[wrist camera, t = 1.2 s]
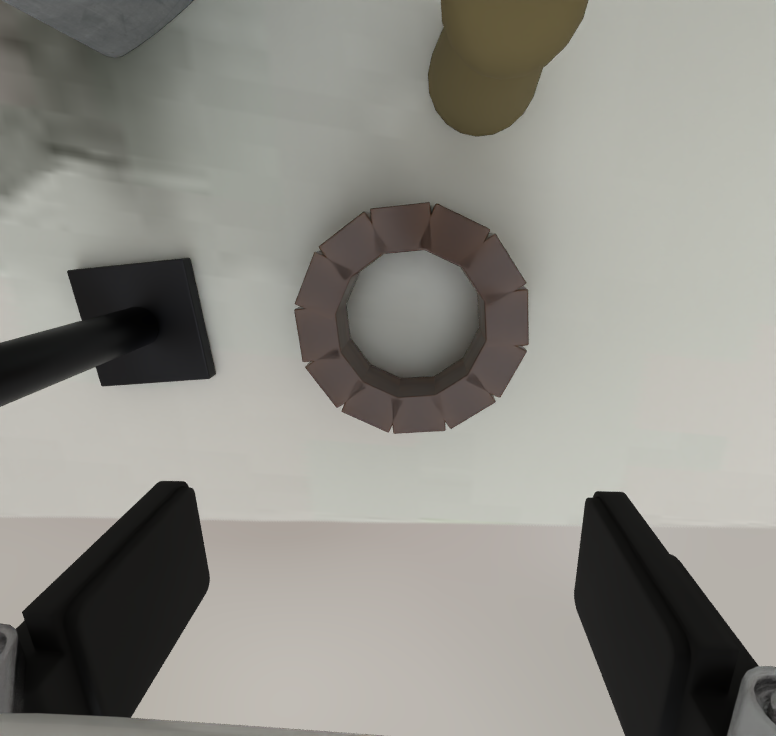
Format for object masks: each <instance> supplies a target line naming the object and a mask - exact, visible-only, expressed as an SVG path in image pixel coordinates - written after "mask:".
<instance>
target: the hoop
mask: <svg viewBox="0 0 776 736" xmlns="http://www.w3.org/2000/svg"><path fill="white" fill-rule="evenodd" d="M489 231H490V229H489V228H487V227H485V226H483V225H481V224H479V223H476V222H474V221H472V220H470V219H468V218H466V217H464V216H462V215H460V214H458V213H456V212H454V211H451V210H449V209H447V208H445V207H443V206H441V205H439V204H435V207H434V209H433V211H432V213H431V210H430V203H429V202H426V203H417V204H408V205H399V206H390V207H381V208H372V209H370V213H368V212H362V213H361V214H360V215H359V216H357V217H356V218H355V219H353V220H352V221H351V222H350V223H348V224H347V225H346V226H344V227H343V228H342V229H341V230H339V231H338V232H337V233H335V234H334V235H333V236H332V237H330V238H329V239H328V240H326V241H325V242H324V243H323V244H321V245H320V246H319V249H320V250H321V251H317V252H314V255H313V257H312V260H311V263H310V265H309V268H308V270H307V273H306V276H305V278H304V281H303V283H302V286H301V289H300V291H299V294H298V296H297V299H296V302H295V304H296V305H298V306H300V307H298V308H296V309H295V310H294V311H295V317H296V323H297V330H298V336H299V342H300V348H301V354H302V361H303V362H309V363H308V364H307V366H306V367H305V368H306V369H307V370H308V372H309V373H310V374H311V375H312V377H313V378H314V379H315V381H316V382H317V383H318V384H319V386H320V387H321V388H322V390H323V391H324V392H325V393H326V395H327V396H328V397H329V398H330V400H331V401H332V402H333V404H334V405H335V406H336V407H337V408H338V407H340V406H341V405H343V404H344V403H345V404H344V406H343V409H342V412H343V413H346V414H348V415H350V416H352V417H355V418H357V419H359V420H361V421H364V422H366V423H368V424H370V425H372V426H375V427H377V428H379V429H381V430H384V431H386V432H389V431H390V429H391V427H392V425H393V432H394V434H396V433H414V432H432V431H445V430H446V429H445V422H446V423H447V425H448V426H449V427H450V428H451V429H452V428H453V427H455V426H457V425H458V424H460V423H462V422H463V421H465V420H467V419H468V418H470V417H472V416H473V415H475V414H477V413H478V412H480V411H482V410H483V409H485V408H487V407H488V406H490V405H492V404H493V403H495V402H496V401H495V398H494V396H493V395H495V396H497V397H501V395H502V394H503V392H504V390H505V388H506V387H507V385H508V383H509V381H510V380H511V378H512V376H513V375H514V373H515V371H516V369H517V368H518V366H519V364H520V362H521V361H522V359H523V357H524V355H525V354H526V352H527V351H526V350H525V348H524V347H523V346H525V345H528V344H529V332H528V289H526V288H525V287H523V285H525V284H526V281H525V280H524V278H523V277H522V275H521V273H520V272H519V270H518V269H517V267H516V266H515V264H514V262H513V261H512V259H511V258H510V256H509V254H508V253H507V251H506V250H505V248H504V247H503V245H502V243H501V242H500V240H499V239H498V237H497V235H496V234H492V233H489ZM417 250H426V251H428V252H430V253H432V254H434V255H436V256H439V257H441V258H443V259H445V260H447V261H449V262H451V263H453V264H455V265H458V266H460V267H461V269H462V270H463V272H464V273H465V275H466V276H467V278H468V279H469V281H470V282H471V284H472V285H473V287H474V288H475V290H476V291H477V295H478V319H479V328H478V330H477V332H476V334H475V336H474V338H473V340H472V342H471V343H470V345H469V347H468V349H467V351H466V353H465V355H464V357H463V358H462V359H460V360H459V361H457V362H456V363H454V364H453V365H451V366H449V367H448V368H446V369H445V370H443V371H442V372H440V373H439V374H437V375H435V376H430V377H415V378H399V377H397V376H394V375H392V374H390V373H388V372H386V371H383V370H381V369H379V368H377V367H375V366H372V365H370V363H369V362H368V361H367V359H366V358H365V357H364V355H363V354H362V353H361V351H360V350H359V349H358V347H357V346H356V345H355V343H354V342H353V341H352V339H351V338H350V330H349V322H348V315H347V307H346V303H347V301H348V299H349V296H350V294H351V292H352V289H353V287H354V284H355V282H356V280H357V277H358V275H359V273H360V271H362V270H363V269H365V268H366V267H367V266H369V265H370V264H371V263H373V262H374V261H375V260H377V259H378V258H379V257H381V256H382V255H383V254H387V253H397V252H407V251H417Z"/></svg>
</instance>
